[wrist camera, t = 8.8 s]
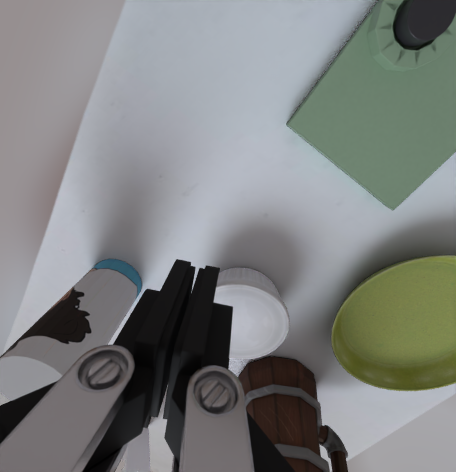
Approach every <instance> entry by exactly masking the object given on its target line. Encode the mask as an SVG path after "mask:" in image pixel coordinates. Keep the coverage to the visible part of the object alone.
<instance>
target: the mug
mask: <svg viewBox="0 0 456 472" xmlns="http://www.w3.org/2000/svg"><path fill="white" fill-rule="evenodd" d="M238 379H239V381H240V382H241V384H242V387H243V391H244V396H245V404H246V410H247V412H248V413H249V414H250V415H251V417H252V418H253V419H254V420H255V422H256V423H257V424H258V425H259V427H260V428H261V429H262V430H263V432H264V433H265V434H266V435H267V437H268V438H269V439H270V440H271V442H272V443H273V444H274V445H275V447H276V448H277V449H278V450H279V452H280V453H281V454H282V455H283V457H284V458H285V459H286V460H287V462H288V463H289V464H290V465H291V467H292V468H293V469H294V470H295V472H330V471H329V465H328V462H327V461H326V460H325V459H323V458H322V457H321V455H320V447H319V444H320V445H321V446H324V447H325V448H326V450H327V453H328V457H329V458H330V459H331V464H332V472H348V469H347V463H346V458H347V457H348V453H347V451H346V449H345V447H344V444H343V443H342V441H341V439H340V438H339V437H338V435H337V434H336V433H335V432H334V431H333V430H332V429H331V428H330V427H329V426H327V425H325V426H322V419H321V407H320V403H319V402H318V401H317V390H316V382H315V378H314V374H313V373H312V372H311V371H309V370H308V369H307V368H306V367H304V366H303V365H302V364H301V363H299V362H298V361H297V360H291V359H285V358H278V357H268V358H265V359H261V360H258V361H255V362H252V363H249V364H247V366H246V367H245V369H244V370H243V371H242V373H241V374H240V375H239V377H238Z"/></svg>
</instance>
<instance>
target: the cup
mask: <svg viewBox="0 0 456 472" xmlns="http://www.w3.org/2000/svg"><path fill="white" fill-rule="evenodd" d="M141 287H142V283H141V278H140V276H139V274H138V272H137V271H136V270H135V269H134V268H133V267H132V266H130V265H129V264H127V263H126V262H123V261H120V260H117V259H107V260H103V261H101V262H99V263H98V264H96V265H95V266H94V267H93V268H92V269H91V270H90V271H89V272H88V273H87V274H86V275H85V276H84V277H83V278H82V279H81V280H80V281H79V282H77V283H76V284H75V285H74V286H73V287H72V288H71V289H70V290H69V291H68V292H67V293H66V294H65V295H64V296H63V297H62V298H61V299H60V300H59V301H58V302H57V303H56V304H55V305H54V306H53V307H52V308H50V309H49V310H48V311H47V312H46V313H45V314H44V315H43V316H42V317H41V318H40V319H39V320H38V321H37V322H36V323H35V324H34V325H33V326H32V327H31V328H30V329H29V330H28V331H27V332H26V333H25V334H23V335H22V336H21V337H20V338H19V339H18V340H17V341H16V342H15V343H14V344H13V345H12V346H11V347H10V348H9V349H8V350H7V351H6V352H5V353H4V354H3V355H2V356H1V357H0V393H1V394H2V395H3V396H5V397H6V398H7V399H9V400H10V401H12V400H14V399H17V398H19V397H21V396H24V395H26V394H28V393H31V392H33V391H35V390H38V389H40V388H42V387H44V386H47V385H49V384H51V383H54V382H56V381H58V380H59V379H60V378H61V377H62V376H63V375H64V374H65V373H66V372H67V370H68V369H69V368H70V367H71V366H72V365H73V364H74V363H75V362H76V361H77V360H78V358H80V357H81V356H82V355H83V354H84V353H85V352H87V351H89V350H91V349H93V348H95V347H99V346H102V345H108V343H109V341H110V340H111V338H112V337H113V335H114V333H115V332H116V330H117V329H118V327H119V325H120V324H121V322H122V321H123V319H124V317H125V316H126V314H127V313H128V311H129V309H130V308H131V306H132V305H133V303H134V301H135V300H136V298H137V297H138V295H139V293H140V291H141Z"/></svg>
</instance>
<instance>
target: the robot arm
mask: <svg viewBox="0 0 456 472" xmlns="http://www.w3.org/2000/svg"><path fill="white" fill-rule="evenodd" d="M219 270H220V268H216V267H212V266H207V265H206V267H205V269H203V268H199V271H198V275H197V278H196V281H195V284H194V287H193V290H192V285H193V279H194V274H195V267H193V266H191V262H188V261H183V260H178V259H176V261H175V263H174V265H173V267H172V269H171V271H170V273H169V275H168V277H167V279H166V281H165V283H164V285H163V287H162V289H161V290H160V291H156V290H151V289H146V290H145V292H144V293H143V295H142V297H141V298H140V300H139V302H138V303H137V305H136V307H135V308H134V310H133V312H132V313H131V315H130V317H129V318H128V320H127V322H126V323H125V325H124V327H123V328H122V330H121V332H120V334H119V335H118V337H117V339H116V340H115V342H114V344H113V345H102V346H99V347H95V348H93V349H91V350H89V351H87V352H85V353H84V354H83V355H82V356H81V357H80V358H78V360H77V361H76V362H75V363H74V364H73V365H72V366H71V367H70V368H69V369H68V370H67V372H66V373H65V374H64V375H63V376H62V377H61V378H60V379H59V380H58V381H56V382H54V383H51V384H49V385H47V386H44V387H42V388H40V389H38V390H35V391H33V392H31V393H28V394H26V395H24V396H21V397H19V398H17V399H14V400H12V401H10V402H8V403H5V404H3V405H1V406H0V472H115V471H116V469H117V467H118V465H119V463H120V461H121V459H122V457H123V455H124V453H125V451H126V449H127V446H128V443H129V442H130V441H131V440H133V439H134V438H136V437H137V436H139V435H140V434H142V431H143V428H148V425H149V422H150V419H151V416H153V417H158V415H159V412H160V408H161V405H162V402H163V398H164V395H165V392H166V388H167V385H168V389H167V395H166V402H165V408H164V415H163V419H168V420H167V426H166V432H165V440H166V442H167V444H168V445H169V447H170V449H171V451H172V453H173V455H174V456H173V463H172V472H295V470H294V469H293V468H292V467H291V465H290V464H289V463H288V462H287V460H286V459H285V458H284V457H283V455H282V454H281V453H280V452H279V450H278V449H277V448H276V447H275V445H274V444H273V443H272V442H271V440H270V439H269V438H268V437H267V435H266V434H265V433H264V432H263V430H262V429H261V428H260V427H259V425H258V424H257V423H256V422H255V420H254V419H253V418H252V417H251V415H250V414H249V413H248V412H247V410H246V404H245V396H244V391H243V387H242V384H241V382H240V381H239V379H238V377H237V376H236V375H235V374H234V373H232V372H231V371H230V370H228V366H229V354H230V342H231V329H232V317H233V306H228V305H223V304H219V303H214V297H215V291H216V286H217V281H218V276H219ZM191 291H192V293H191Z"/></svg>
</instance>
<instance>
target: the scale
mask: <svg viewBox="0 0 456 472" xmlns="http://www.w3.org/2000/svg"><path fill="white" fill-rule="evenodd" d="M407 1H408V0H378V2H377V3H376V4H375V6H374V7H373V8H372V10H371V11H370V12H369V14H368V15H367V16H366V18H365V19H364V20H363V22H362V23H361V24H360V26H359V27H358V28H357V30H356V31H355V32H354V34H353V35H352V37H351V38H350V39H349V41H348V42H347V43H346V45H345V46H344V47H343V49H342V50H341V51H340V53H339V54H338V55H337V57H336V58H335V59H334V61H333V62H332V63H331V65H330V66H329V67H328V69H327V70H326V71H325V73H324V74H323V76H322V77H321V78H320V80H319V81H318V82H317V84H316V85H315V86H314V88H313V89H312V90H311V92H310V93H309V94H308V96H307V97H306V98H305V100H304V101H303V102H302V104H301V105H300V106H299V108H298V109H297V110H296V112H295V113H294V114H293V116H292V117H291V119H290V120H289V121H288V123H287V124H286V125H287V126H288V127H289V128H290V129H292V130H293V131H294V132H295V133H297V134H298V135H299V136H300V137H302V138H303V139H304V140H305V141H306V142H308V143H309V144H310V145H311V146H313V147H314V148H315V149H316V150H318V151H319V152H320V153H321V154H322V155H324V156H325V157H326V158H327V159H329V160H330V161H331V162H332V163H334V164H335V165H336V166H337V167H339V168H340V169H341V170H342V171H343V172H345V173H346V174H347V175H348V176H350V177H351V178H352V179H353V180H355V181H356V182H357V183H358V184H359V185H361V186H362V187H363V188H364V189H366V190H367V191H368V192H369V193H371V194H372V195H373V196H374V197H375V198H377V199H378V200H379V201H380V202H382V203H383V204H384V205H385V206H387V207H388V208H390V209H391V210H394V209H395V208H396V207H397V206H399V205H400V204H401V203H402V202H403V201H404V200H405V199H406V198H407V197H408V196H409V195H410V194H411V193H412V192H413V191H414V190H416V189H417V188H418V187H419V186H420V185H421V184H422V183H423V182H424V181H425V180H426V179H427V178H428V177H429V176H430V175H431V174H433V173H434V172H435V171H436V170H437V169H438V168H439V167H440V166H441V165H442V164H443V163H444V162H445V161H446V160H447V159H448V158H450V157H451V156H452V155H453V154H454V153H455V152H456V15H455V17H454V19H453V21H452V23H451V24H450V26H449V27H448V28H447V30H446V31H445V32H444V33H442V34H441V35H440V36H438V37H437V38H435V39H433V40H430V41H428V42H425V43H423V44H421V45H418V46H406V45H404V44H402V43H401V42H400V41H399V39H398V38H397V35H396V30H395V25H396V20H397V16H398V14H399V12H400V10H401V8H402V7H403V5H404V4H405V3H406V2H407Z"/></svg>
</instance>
